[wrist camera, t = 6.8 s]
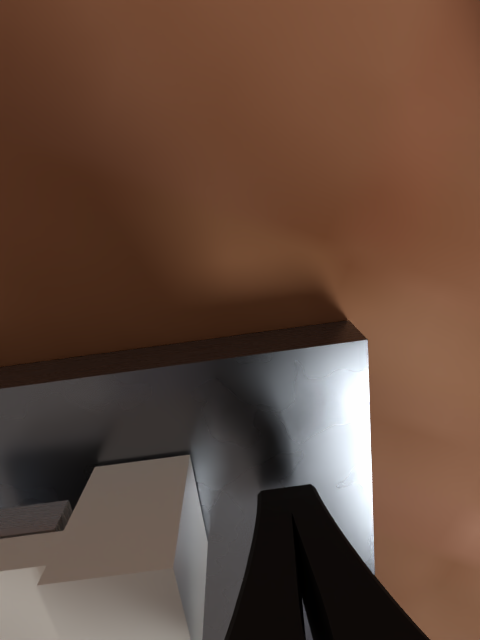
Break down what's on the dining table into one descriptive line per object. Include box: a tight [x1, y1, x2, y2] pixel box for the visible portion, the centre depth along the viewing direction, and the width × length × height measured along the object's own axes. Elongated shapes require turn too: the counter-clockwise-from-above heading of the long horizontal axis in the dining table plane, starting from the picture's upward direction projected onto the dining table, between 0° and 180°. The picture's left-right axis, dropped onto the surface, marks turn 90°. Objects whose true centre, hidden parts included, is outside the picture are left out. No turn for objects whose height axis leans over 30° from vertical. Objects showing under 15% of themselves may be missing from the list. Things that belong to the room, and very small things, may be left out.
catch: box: [0, 455, 208, 640], centre depth 9 cm, size 3×6×3 cm, turn 98°
